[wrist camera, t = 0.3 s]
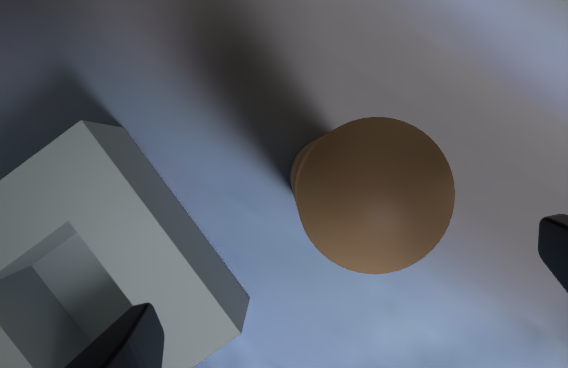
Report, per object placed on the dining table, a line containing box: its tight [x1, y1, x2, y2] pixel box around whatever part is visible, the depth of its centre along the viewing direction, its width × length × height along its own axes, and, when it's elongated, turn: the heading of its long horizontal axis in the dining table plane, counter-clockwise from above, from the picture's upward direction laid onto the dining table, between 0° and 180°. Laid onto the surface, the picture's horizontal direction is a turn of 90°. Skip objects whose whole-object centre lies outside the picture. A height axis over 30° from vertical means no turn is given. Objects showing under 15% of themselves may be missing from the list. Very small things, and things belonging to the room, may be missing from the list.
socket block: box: [0, 120, 250, 368], centre depth 22 cm, size 13×13×5 cm
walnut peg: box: [290, 117, 455, 274], centre depth 17 cm, size 4×4×13 cm
